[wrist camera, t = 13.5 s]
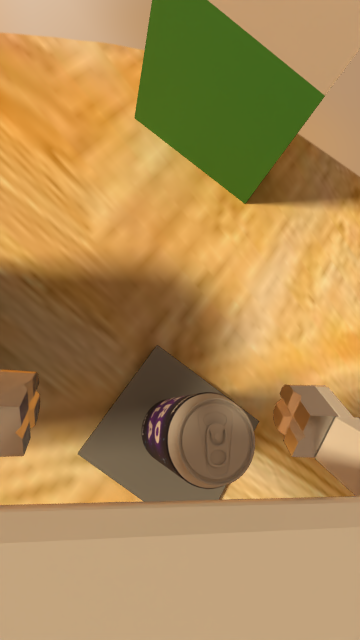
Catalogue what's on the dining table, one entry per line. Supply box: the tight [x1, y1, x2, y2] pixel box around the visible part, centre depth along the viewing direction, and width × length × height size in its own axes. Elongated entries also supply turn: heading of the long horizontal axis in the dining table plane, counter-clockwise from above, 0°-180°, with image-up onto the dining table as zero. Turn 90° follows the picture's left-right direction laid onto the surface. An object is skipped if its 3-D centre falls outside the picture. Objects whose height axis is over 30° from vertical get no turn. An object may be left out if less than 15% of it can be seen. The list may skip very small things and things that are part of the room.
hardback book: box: [135, 0, 360, 203], centre depth 31 cm, size 18×7×24 cm, turn 56°
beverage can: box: [141, 392, 255, 489], centre depth 24 cm, size 6×6×12 cm
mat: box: [78, 345, 259, 502], centre depth 30 cm, size 12×13×1 cm
